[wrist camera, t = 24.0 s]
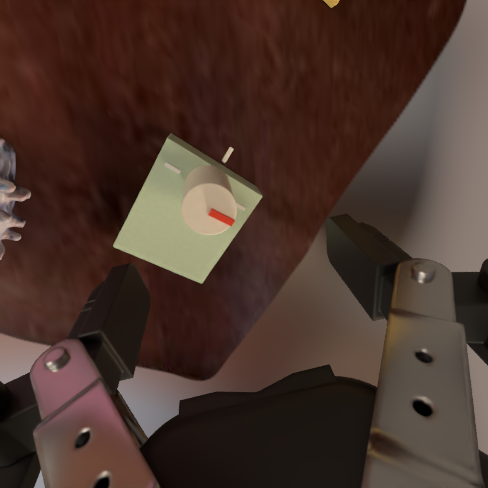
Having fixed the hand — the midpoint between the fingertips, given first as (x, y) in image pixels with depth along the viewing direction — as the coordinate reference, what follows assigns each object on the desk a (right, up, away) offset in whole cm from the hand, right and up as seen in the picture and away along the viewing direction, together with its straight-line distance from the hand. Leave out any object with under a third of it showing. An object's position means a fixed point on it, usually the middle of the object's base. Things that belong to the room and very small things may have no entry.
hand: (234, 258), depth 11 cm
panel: (-5, +5, +17) cm, 19 cm away
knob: (-3, +6, +14) cm, 15 cm away
